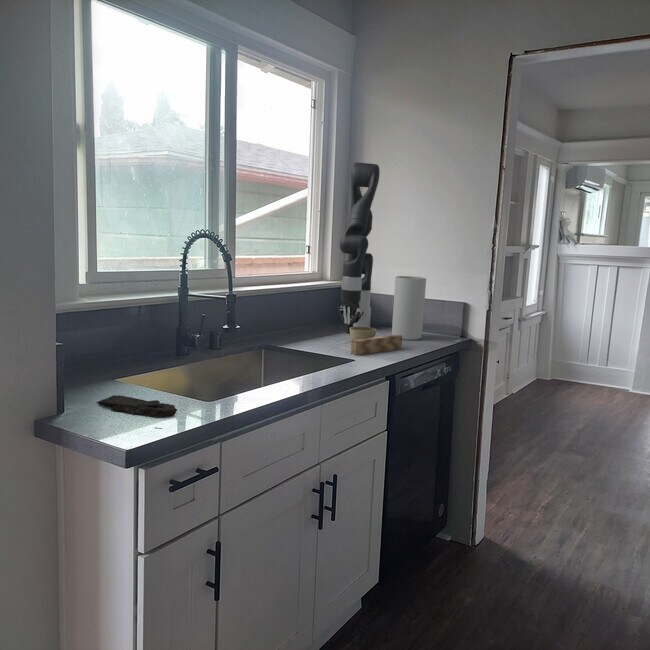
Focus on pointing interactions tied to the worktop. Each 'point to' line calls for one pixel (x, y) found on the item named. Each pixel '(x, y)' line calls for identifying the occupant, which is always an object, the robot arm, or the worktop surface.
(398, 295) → the cylinder vase
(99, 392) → the worktop surface
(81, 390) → the worktop surface
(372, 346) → the board
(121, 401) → the wood
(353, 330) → the flower pot
